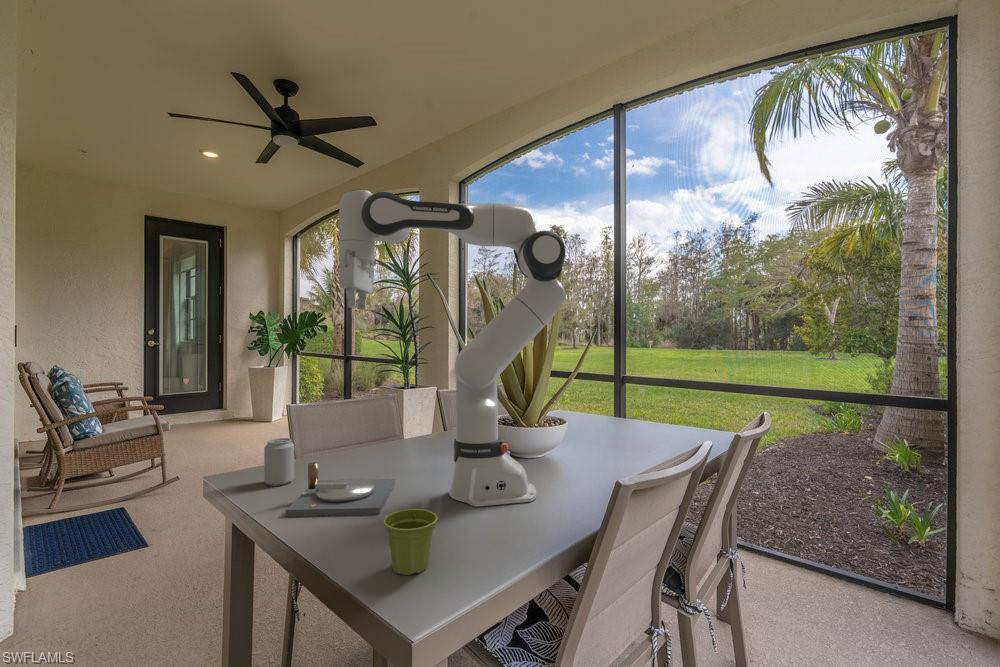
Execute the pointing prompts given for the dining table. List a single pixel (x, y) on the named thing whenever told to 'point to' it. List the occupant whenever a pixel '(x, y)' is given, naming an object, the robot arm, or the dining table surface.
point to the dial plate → (363, 506)
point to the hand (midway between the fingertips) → (356, 308)
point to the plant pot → (410, 539)
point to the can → (278, 462)
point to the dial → (338, 487)
